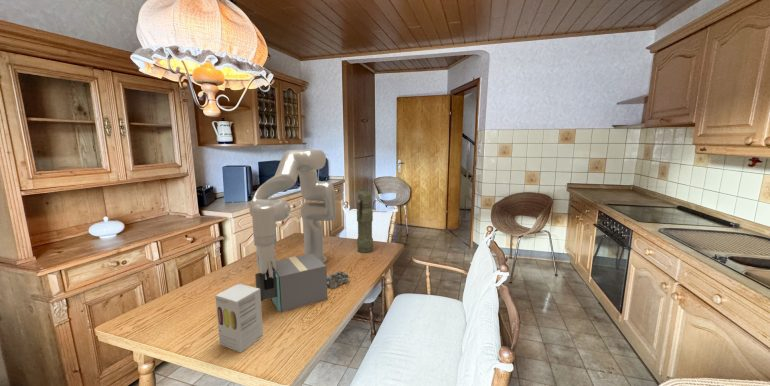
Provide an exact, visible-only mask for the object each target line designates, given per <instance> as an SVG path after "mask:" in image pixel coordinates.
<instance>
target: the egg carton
mask: <svg viewBox="0 0 770 386" xmlns="http://www.w3.org/2000/svg"><path fill="white" fill-rule="evenodd" d="M350 277H351V276H350V275H348V273H346V272H344V271H342V270H341V269H340V270H338V271H337V272H335V273H331V274H329V275H327V287H329V289H337V287H338V286H343V284H345V283H346V284H347V283H349V279H350Z"/></svg>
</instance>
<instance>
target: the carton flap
mask: <svg viewBox="0 0 770 386" xmlns="http://www.w3.org/2000/svg"><path fill="white" fill-rule="evenodd" d="M267 274H268V273H267ZM254 277H255V288H259V289H260V295H261V303H262V302H264V301H265V300H270V299H271V300H272V302H273V304H274V306H275V307H276V309H277V311H278V312H281V305H280V289H279V276H278V275H277V274H276V272H274V271H273V279H274V288H272V289H268V290H265V289H264V279H265V276H264V274H261V272H257V273H255V274H254Z"/></svg>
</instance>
